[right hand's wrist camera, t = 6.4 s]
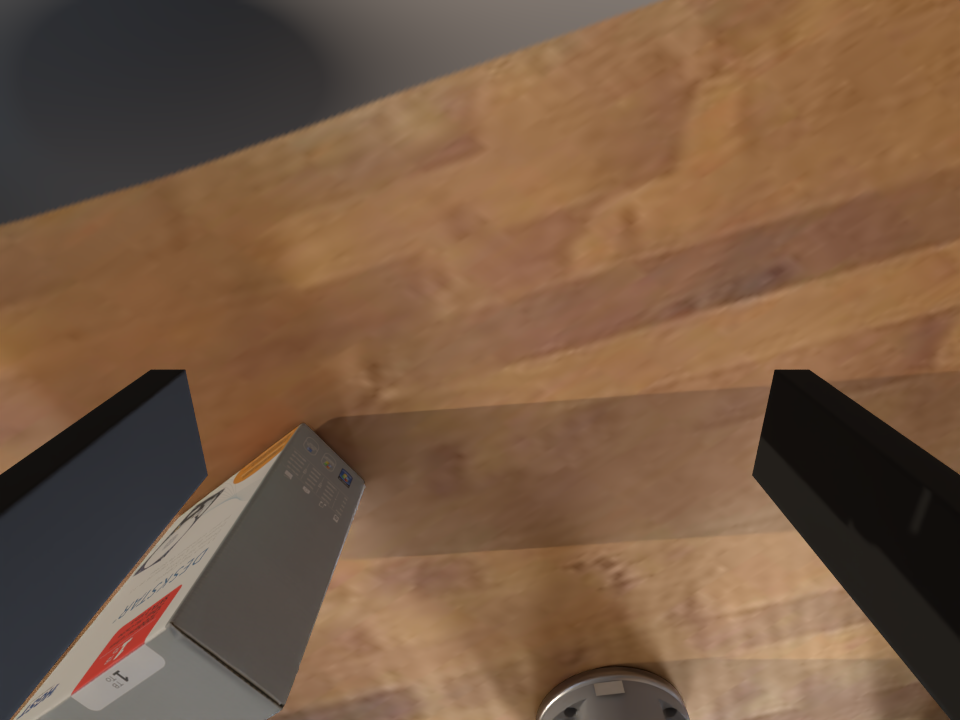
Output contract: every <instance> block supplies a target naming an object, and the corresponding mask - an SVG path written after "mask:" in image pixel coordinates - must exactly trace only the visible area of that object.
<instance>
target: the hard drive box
mask: <svg viewBox="0 0 960 720" xmlns="http://www.w3.org/2000/svg"><path fill="white" fill-rule="evenodd" d="M364 488H365V484H364V480H363V479H362V478H361V477H360V476H359V475H358V474H357V473H356V472H355V471H354V470H353V469H351V468H350V467H349V466H348V465H347V463H345V462H344V461H343V460H342V459H341V458H340V457H339V456H338V455H337V454H336V453H335V452H334V451H333V450H332V449H331V448H330V447H329V446H328V445H327V444H326V443H325V442H324V441H323V440H322V439H321V438H320V437H319V436H318V435H317V434H316V433H315V432H314V431H312V430H311V429H310V428H309V427H308V426H307V425H306V424H305V423H302V424H300V425H299V426H298V427H296V428H295V429H293V430H292V431H291V432H289V433H288V434H287V435H286V436H284V437H283V438H282V439H280V440H279V441H277V442H276V443H275V444H273V445H272V446H271V447H270V448H268V449H267V450H266V451H264V452H263V453H262V454H261V455H259V456H258V457H257V458H256V459H254V460H253V461H252V462H250V463H249V464H248V465H246V466H245V467H244V468H243V469H241V470H240V471H239V472H237V473H236V474H235V475H233V476H232V477H231V478H229V479H228V480H227V481H225V482H224V483H223V484H221V485H220V486H219V487H218V488H216V489H215V490H213V491H212V492H211V493H209V494H208V495H207V496H206V497H204V498H203V499H202V500H200V501H199V502H198V503H196V504H195V505H194V506H193V507H192V508H190V509H189V510H188V511H186V512H185V513H184V514H182V515H181V516H180V517H179V518H178V519H177V520H176V521H175V522H174V523H173V525H172V526H171V527H170V528H169V530H168V531H167V532H166V533H165V535H164V536H163V537H162V538H161V539H160V541H159V542H158V543H157V544H156V545H155V547H154V548H153V549H152V550H151V552H150V553H149V554H148V555H147V557H146V558H145V559H144V560H143V561H142V563H141V564H140V565H139V566H138V568H137V569H136V570H135V571H134V573H133V574H132V575H131V576H130V578H129V579H128V580H127V581H126V583H125V584H124V585H123V586H122V587H121V589H120V590H119V591H118V592H117V594H116V595H115V596H114V597H113V599H112V600H111V601H110V602H109V603H108V605H107V606H106V607H105V608H104V609H103V611H102V612H101V613H100V614H99V616H98V617H97V618H96V619H95V621H94V622H93V623H92V624H91V626H90V627H89V628H88V629H87V630H86V632H85V633H84V634H83V635H82V636H81V638H80V639H79V640H78V641H77V643H76V644H75V645H74V646H73V648H72V649H71V650H70V651H69V652H68V654H67V655H66V656H65V657H64V659H63V660H62V661H61V662H60V664H59V665H58V666H57V667H56V668H55V670H54V671H53V672H52V673H51V675H50V676H49V677H48V678H47V679H46V681H45V682H44V683H43V684H42V686H41V687H40V688H39V689H38V691H37V692H36V693H35V694H34V695H33V697H32V698H31V699H30V700H29V702H28V703H27V704H26V705H25V706H24V708H23V709H22V710H21V711H20V712H19V714H18V715H17V716H16V717H15V718H14V720H267V719H268V718H270V717H271V716H273V715H275V714H276V713H278V712H279V711H281V710H282V709H283V707H284V705H285V703H286V701H287V698H288V695H289V693H290V690H291V687H292V685H293V682H294V679H295V676H296V674H297V672H298V670H299V665H300V663H301V660H302V657H303V654H304V651H305V649H306V646H307V644H308V640H309V638H310V635H311V632H312V629H313V627H314V624H315V621H316V618H317V616H318V613H319V610H320V607H321V605H322V602H323V599H324V597H325V594H326V591H327V589H328V586H329V583H330V581H331V578H332V575H333V573H334V570H335V567H336V564H337V562H338V559H339V556H340V553H341V551H342V548H343V545H344V543H345V540H346V537H347V534H348V532H349V529H350V526H351V524H352V521H353V518H354V516H355V513H356V510H357V507H358V505H359V502H360V499H361V497H362V494H363V491H364Z"/></svg>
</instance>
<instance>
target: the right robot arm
mask: <svg viewBox="0 0 960 720" xmlns="http://www.w3.org/2000/svg"><path fill="white" fill-rule="evenodd" d="M207 476H208V474H207V469H206V465H205V460H204V455H203V450H202V446H201V441H200V436H199V432H198V427H197V422H196V418H195V413H194V408H193V404H192V399H191V394H190V390H189V385H188V380H187V375H186V371H185V370H150V371H148V372H147V373H145V374H144V375H143V376H141V377H140V378H138V379H137V380H135V381H134V382H133V383H131V384H130V385H128V386H127V387H125V388H124V389H123V390H121V391H120V392H118V393H117V394H115V395H114V396H113V397H111V398H110V399H108V400H107V401H105V402H104V403H103V404H101V405H100V406H98V407H97V408H95V409H94V410H92V411H91V412H90V413H88V414H87V415H85V416H84V417H82V418H81V419H80V420H78V421H77V422H75V423H74V424H72V425H71V426H70V427H68V428H67V429H65V430H64V431H62V432H61V433H60V434H58V435H57V436H55V437H54V438H52V439H51V440H50V441H48V442H47V443H45V444H44V445H42V446H41V447H40V448H38V449H37V450H35V451H34V452H32V453H31V454H30V455H28V456H27V457H25V458H24V459H22V460H21V461H20V462H18V463H17V464H15V465H14V466H12V467H11V468H9V469H8V470H7V471H5V472H4V473H2V474H1V475H0V720H10V718H11V717H12V716H13V715H14V713H15V712H16V711H17V710H18V709H19V707H20V706H21V705H22V704H23V702H24V701H25V700H26V699H27V697H28V696H29V695H30V694H31V693H32V691H33V690H34V689H35V688H36V686H37V685H38V684H39V683H40V681H41V680H42V679H43V678H44V676H45V675H46V674H47V673H48V672H49V670H50V669H51V668H52V667H53V665H54V664H55V663H56V662H57V660H58V659H59V658H60V657H61V656H62V654H63V653H64V652H65V651H66V649H67V648H68V647H69V646H70V644H71V643H72V642H73V641H74V639H75V638H76V637H77V636H78V635H79V633H80V632H81V631H82V630H83V628H84V627H85V626H86V625H87V623H88V622H89V621H90V620H91V619H92V617H93V616H94V615H95V614H96V612H97V611H98V610H99V609H100V607H101V606H102V605H103V604H104V603H105V601H106V600H107V599H108V598H109V596H110V595H111V594H112V593H113V591H114V590H115V589H116V588H117V586H118V585H119V584H120V583H121V582H122V580H123V579H124V578H125V577H126V575H127V574H128V573H129V572H130V570H131V569H132V568H133V567H134V566H135V564H136V563H137V562H138V561H139V559H140V558H141V557H142V556H143V554H144V553H145V552H146V551H147V550H148V548H149V547H150V546H151V545H152V543H153V542H154V541H155V540H156V538H157V537H158V536H159V535H160V533H161V532H162V531H163V530H164V529H165V527H166V526H167V525H168V524H169V522H170V521H171V520H172V519H173V517H174V516H175V515H176V514H177V513H178V511H179V510H180V509H181V508H182V506H183V505H184V504H185V503H186V501H187V500H188V499H189V498H190V497H191V495H192V494H193V493H194V492H195V490H196V489H197V488H198V487H199V485H200V484H201V483H202V482H203V480H204V479H205V478H206V477H207ZM752 476H753V477H754V478H755V479H756V480H757V482H758V483H759V484H760V485H761V487H762V488H763V489H764V490H765V492H766V493H767V494H768V495H769V497H770V498H771V499H772V500H773V501H774V503H775V504H776V505H777V506H778V508H779V509H780V510H781V511H782V513H783V514H784V515H785V516H786V517H787V519H788V520H789V521H790V522H791V524H792V525H793V526H794V527H795V529H796V530H797V531H798V532H799V533H800V535H801V536H802V537H803V538H804V540H805V541H806V542H807V543H808V545H809V546H810V547H811V548H812V550H813V551H814V552H815V553H816V554H817V556H818V557H819V558H820V559H821V561H822V562H823V563H824V564H825V566H826V567H827V568H828V569H829V570H830V572H831V573H832V574H833V575H834V577H835V578H836V579H837V580H838V582H839V583H840V584H841V585H842V586H843V588H844V589H845V590H846V591H847V593H848V594H849V595H850V596H851V598H852V599H853V600H854V601H855V603H856V604H857V605H858V606H859V607H860V609H861V610H862V611H863V612H864V614H865V615H866V616H867V617H868V619H869V620H870V621H871V622H872V623H873V625H874V626H875V627H876V628H877V630H878V631H879V632H880V633H881V635H882V636H883V637H884V638H885V640H886V641H887V642H888V643H889V644H890V646H891V647H892V648H893V649H894V651H895V652H896V653H897V654H898V656H899V657H900V658H901V659H902V660H903V662H904V663H905V664H906V665H907V667H908V668H909V669H910V670H911V672H912V673H913V674H914V675H915V676H916V678H917V679H918V680H919V681H920V683H921V684H922V685H923V686H924V688H925V689H926V690H927V691H928V693H929V694H930V695H931V696H932V697H933V699H934V700H935V701H936V702H937V704H938V705H939V706H940V707H941V709H942V710H943V711H944V712H945V713H946V715H947V716H948V717H949V718H950V720H960V475H959V474H958V473H956V472H955V471H953V470H952V469H951V468H949V467H948V466H946V465H945V464H943V463H942V462H940V461H939V460H938V459H936V458H935V457H933V456H932V455H930V454H929V453H928V452H926V451H925V450H923V449H922V448H920V447H919V446H918V445H916V444H915V443H913V442H912V441H910V440H909V439H908V438H906V437H905V436H903V435H902V434H900V433H899V432H898V431H896V430H895V429H893V428H892V427H890V426H889V425H888V424H886V423H885V422H883V421H882V420H880V419H879V418H878V417H876V416H875V415H873V414H872V413H870V412H869V411H868V410H866V409H865V408H863V407H862V406H860V405H859V404H857V403H856V402H855V401H853V400H852V399H850V398H849V397H847V396H846V395H845V394H843V393H842V392H840V391H839V390H837V389H836V388H835V387H833V386H832V385H830V384H829V383H827V382H826V381H825V380H823V379H822V378H820V377H819V376H817V375H816V374H815V373H813V372H812V371H810V370H775V371H774V375H773V380H772V385H771V390H770V394H769V399H768V404H767V408H766V413H765V418H764V422H763V427H762V432H761V436H760V441H759V446H758V450H757V455H756V460H755V465H754V469H753V474H752ZM536 720H690V719H689V716H688V713H687V710H686V707H685V705H684V702H683V700H682V697H681V696H680V694H679V693H678V691H677V690H676V689H675V688H674V687H673V686H672V685H671V684H670V683H669V682H667V681H666V680H665V679H663V678H661V677H659V676H657V675H655V674H653V673H650V672H647V671H644V670H640V669H635V668H628V667H607V668H599V669H594V670H590V671H586V672H583V673H580V674H577V675H575V676H573V677H571V678H569V679H567V680H565V681H563V682H562V683H560V684H559V685H558V686H556V687H555V688H554V689H553V690H552V691H550V693H549V694H548V695H547V696H546V697H545V698H544V700H543V701H542V703H541V705H540V707H539V709H538V712H537V716H536Z"/></svg>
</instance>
